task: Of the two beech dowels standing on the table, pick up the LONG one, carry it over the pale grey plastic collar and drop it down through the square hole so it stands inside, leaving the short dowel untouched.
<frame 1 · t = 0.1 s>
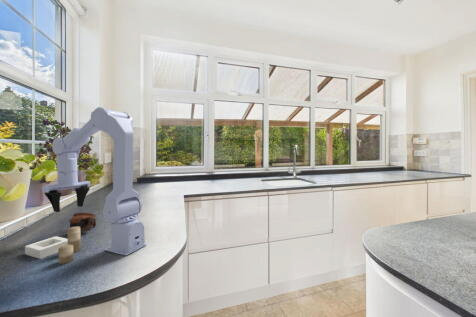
hand: (69, 208, 77), 10 cm above the table, fingers open, 7 cm apart
collar: (48, 250, 66), on the table
pottery mug: (83, 231, 83), on the table
short pin: (66, 261, 59), on the table
long pin: (74, 250, 66), on the table
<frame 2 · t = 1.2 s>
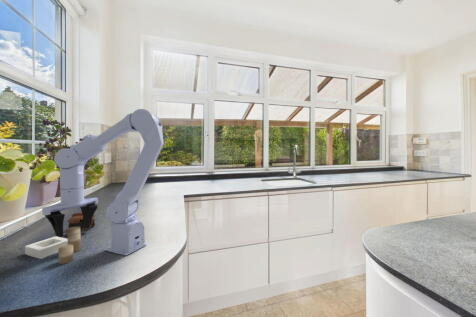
hand: (73, 231, 66), 6 cm above the table, fingers open, 7 cm apart
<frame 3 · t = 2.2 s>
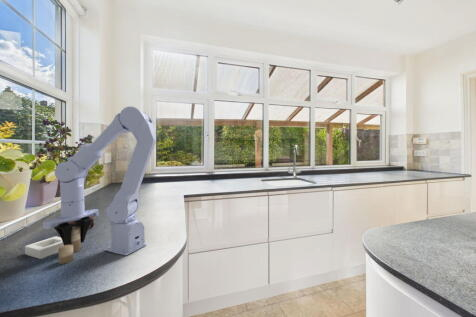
hand: (74, 244, 66), 2 cm above the table, fingers closed on long pin, 3 cm apart
long pin: (74, 250, 66), on the table, touching gripper
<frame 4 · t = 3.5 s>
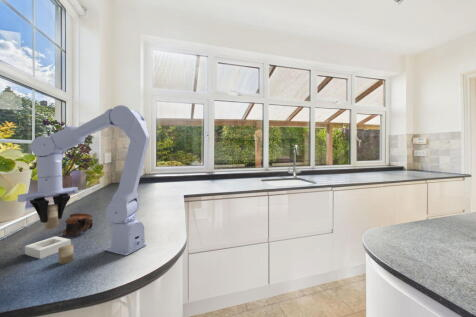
hand: (51, 220, 66), 10 cm above the table, fingers closed on long pin, 3 cm apart
long pin: (51, 227, 66), point 7 cm above the table, touching gripper
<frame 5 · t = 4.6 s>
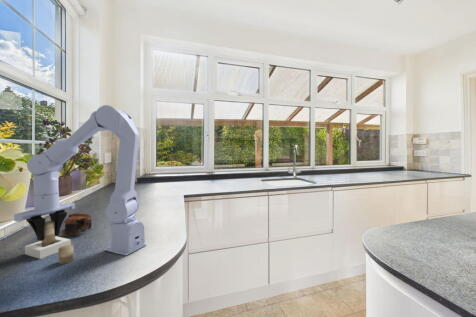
hand: (48, 237, 66), 4 cm above the table, fingers closed on long pin, 3 cm apart
long pin: (48, 244, 66), point 2 cm above the table, touching gripper
when the fingers open (4 cm above the table, at t = 5.0 s): long pin drops 2 cm, resting in collar.
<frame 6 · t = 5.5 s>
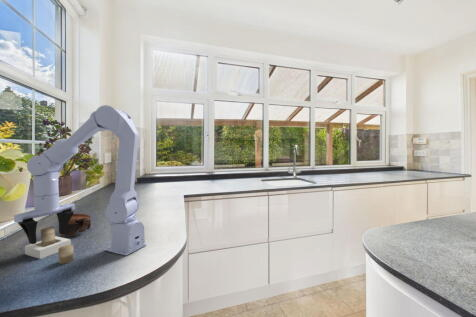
hand: (48, 238, 66), 4 cm above the table, fingers open, 7 cm apart
long pin: (48, 250, 66), resting in collar
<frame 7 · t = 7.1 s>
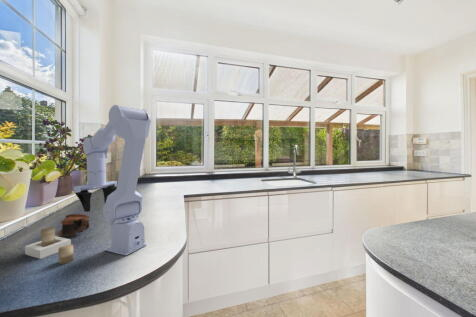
hand: (97, 208, 78), 10 cm above the table, fingers open, 7 cm apart
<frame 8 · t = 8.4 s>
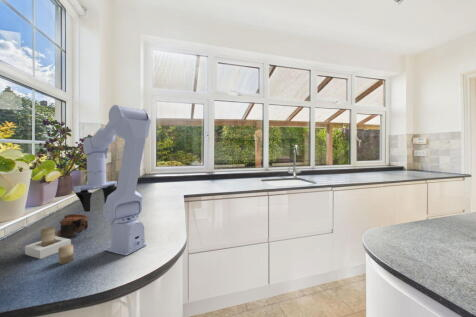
hand: (97, 208, 78), 10 cm above the table, fingers open, 7 cm apart
at the end: long pin 0.0 cm off-centre on the collar, point 0.0 cm above the collar's base; long pin tilted 0°; short pin moved 0.1 cm from its start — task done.
